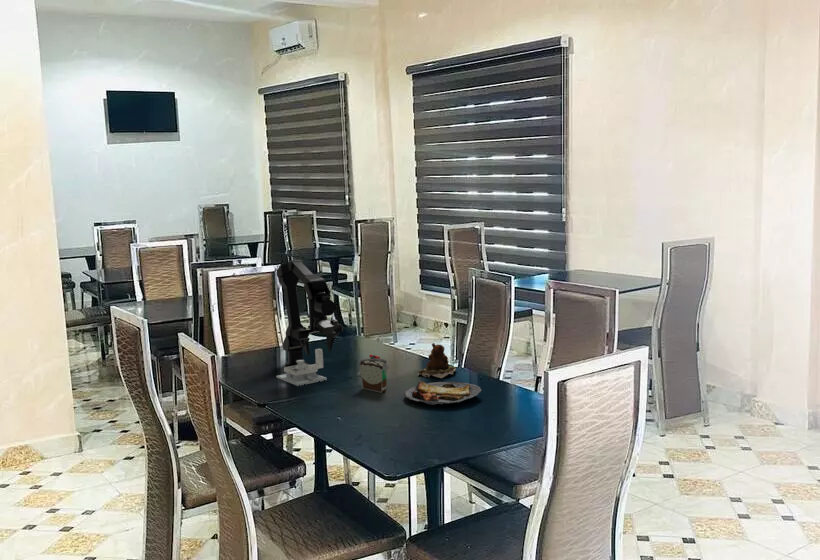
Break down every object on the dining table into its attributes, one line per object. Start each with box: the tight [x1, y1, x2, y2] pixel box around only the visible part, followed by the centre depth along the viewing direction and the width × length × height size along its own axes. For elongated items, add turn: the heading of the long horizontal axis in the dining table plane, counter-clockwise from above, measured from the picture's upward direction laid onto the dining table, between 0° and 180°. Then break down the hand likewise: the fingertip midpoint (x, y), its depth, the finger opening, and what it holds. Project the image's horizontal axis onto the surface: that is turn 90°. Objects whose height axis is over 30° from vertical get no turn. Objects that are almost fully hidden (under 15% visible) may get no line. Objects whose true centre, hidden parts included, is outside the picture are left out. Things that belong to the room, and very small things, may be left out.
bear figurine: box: [417, 342, 457, 379], centre depth 293 cm, size 14×15×12 cm
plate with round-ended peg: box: [275, 359, 327, 387], centre depth 291 cm, size 16×12×7 cm
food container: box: [358, 358, 390, 394], centre depth 274 cm, size 12×6×10 cm, turn 47°
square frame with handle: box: [283, 348, 324, 376], centre depth 292 cm, size 14×9×7 cm, turn 127°
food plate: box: [403, 381, 482, 406], centre depth 261 cm, size 25×23×4 cm
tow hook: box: [356, 354, 381, 376], centre depth 296 cm, size 7×10×7 cm
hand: (318, 353), depth 295 cm, fingers open, 9 cm apart
